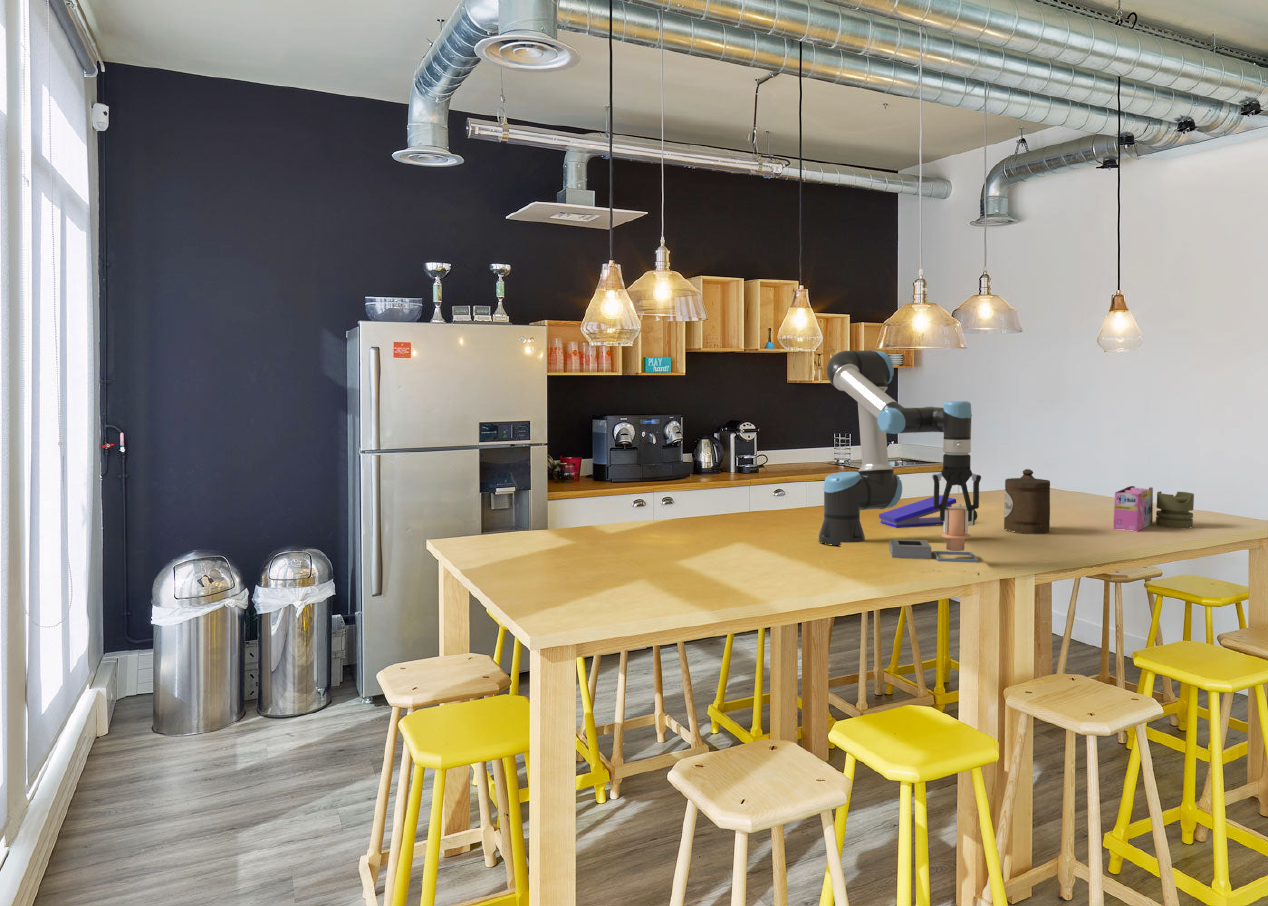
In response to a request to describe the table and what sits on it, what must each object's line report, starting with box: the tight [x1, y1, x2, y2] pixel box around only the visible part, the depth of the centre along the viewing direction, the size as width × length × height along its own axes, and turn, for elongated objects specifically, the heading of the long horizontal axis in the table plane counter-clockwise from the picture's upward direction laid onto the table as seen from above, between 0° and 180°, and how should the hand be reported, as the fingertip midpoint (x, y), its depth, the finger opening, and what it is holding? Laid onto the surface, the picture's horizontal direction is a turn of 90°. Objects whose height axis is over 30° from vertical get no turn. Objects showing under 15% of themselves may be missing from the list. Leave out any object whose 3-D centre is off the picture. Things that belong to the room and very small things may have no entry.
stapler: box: [878, 494, 957, 529], centre depth 319 cm, size 12×28×10 cm, turn 108°
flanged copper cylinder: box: [940, 508, 971, 552], centre depth 249 cm, size 8×8×12 cm
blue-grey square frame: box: [932, 550, 979, 563], centre depth 250 cm, size 11×11×2 cm
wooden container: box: [1003, 468, 1051, 534], centre depth 301 cm, size 15×15×22 cm
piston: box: [1155, 491, 1195, 529], centre depth 307 cm, size 11×12×11 cm
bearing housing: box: [888, 538, 932, 560], centre depth 256 cm, size 11×11×5 cm
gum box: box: [1112, 485, 1154, 532], centre depth 307 cm, size 24×8×14 cm, turn 137°
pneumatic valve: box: [943, 503, 978, 534], centre depth 287 cm, size 6×12×12 cm, turn 114°
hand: (955, 531), depth 249 cm, fingers closed on flanged copper cylinder, 5 cm apart
